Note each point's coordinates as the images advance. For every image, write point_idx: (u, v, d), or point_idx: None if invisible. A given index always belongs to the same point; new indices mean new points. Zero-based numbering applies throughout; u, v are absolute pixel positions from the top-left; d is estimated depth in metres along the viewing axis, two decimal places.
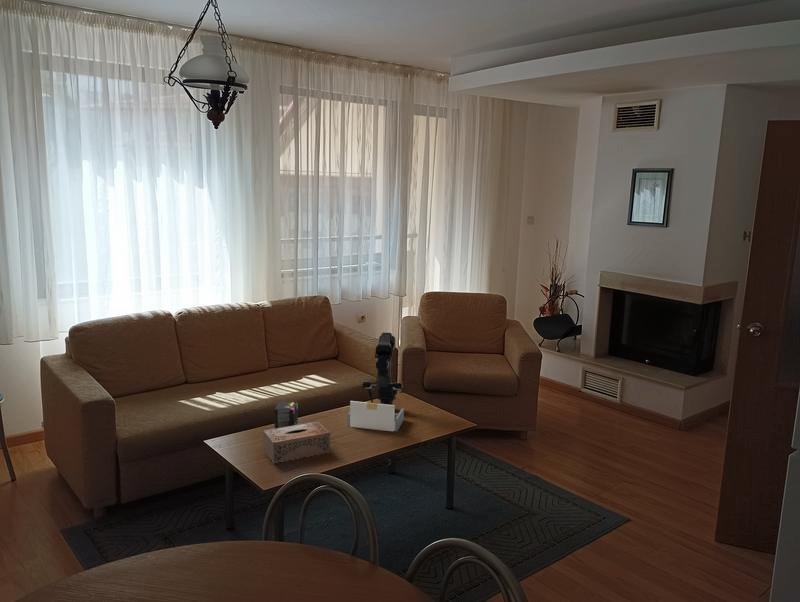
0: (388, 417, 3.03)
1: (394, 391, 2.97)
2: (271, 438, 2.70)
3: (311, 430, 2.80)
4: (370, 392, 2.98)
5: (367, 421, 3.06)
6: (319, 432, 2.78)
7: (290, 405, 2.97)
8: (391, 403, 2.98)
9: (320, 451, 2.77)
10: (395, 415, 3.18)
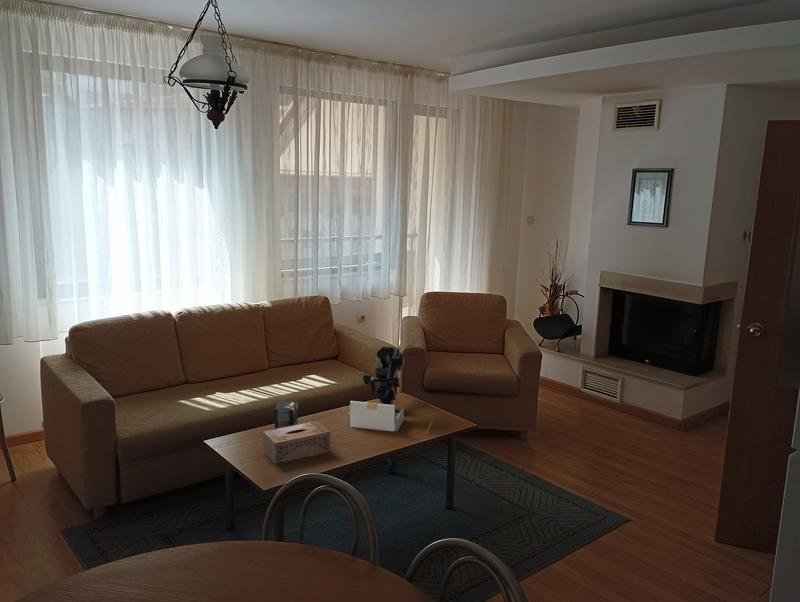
0: (388, 417, 3.03)
1: (388, 383, 3.16)
2: (272, 439, 2.69)
3: (311, 429, 2.80)
4: (372, 384, 3.18)
5: (367, 421, 3.06)
6: (319, 431, 2.78)
7: (290, 405, 2.97)
8: (384, 395, 3.14)
9: (320, 450, 2.78)
10: (395, 415, 3.18)
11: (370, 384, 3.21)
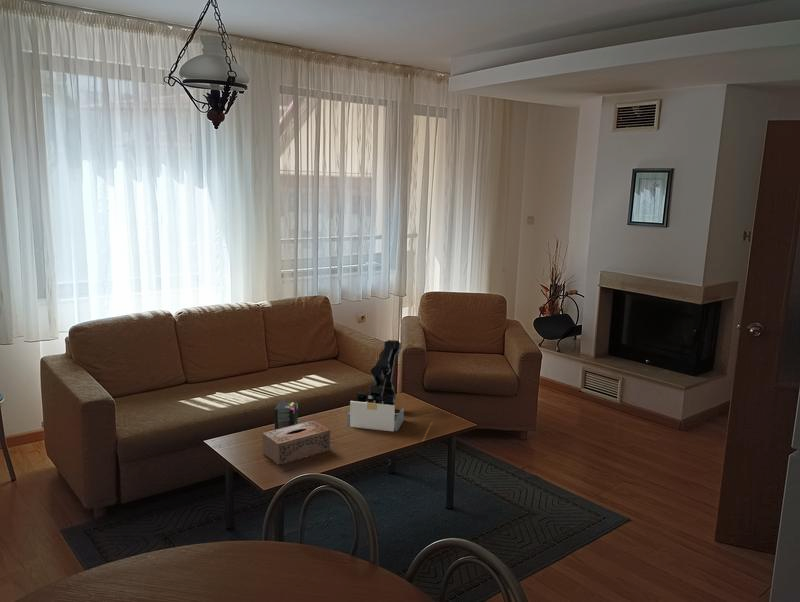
0: (388, 417, 3.03)
1: (376, 401, 3.07)
2: (274, 440, 2.68)
3: (311, 429, 2.81)
4: None
5: (367, 421, 3.06)
6: (319, 430, 2.79)
7: (290, 405, 2.97)
8: None
9: (321, 449, 2.79)
10: (395, 415, 3.18)
11: None
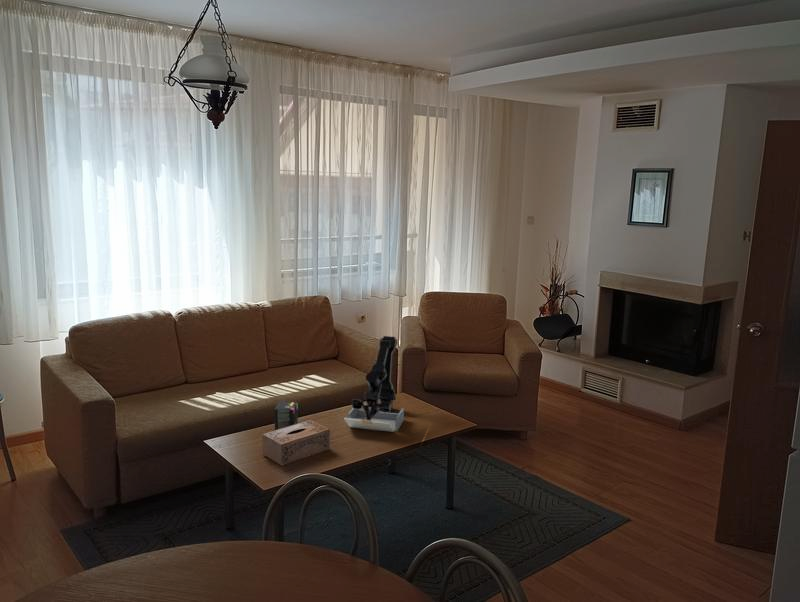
0: (385, 427, 2.99)
1: (372, 408, 2.99)
2: (276, 440, 2.68)
3: (310, 428, 2.82)
4: (367, 410, 2.99)
5: (366, 427, 3.04)
6: (319, 430, 2.80)
7: (290, 405, 2.97)
8: None
9: (321, 448, 2.80)
10: (395, 415, 3.18)
11: (365, 409, 3.03)
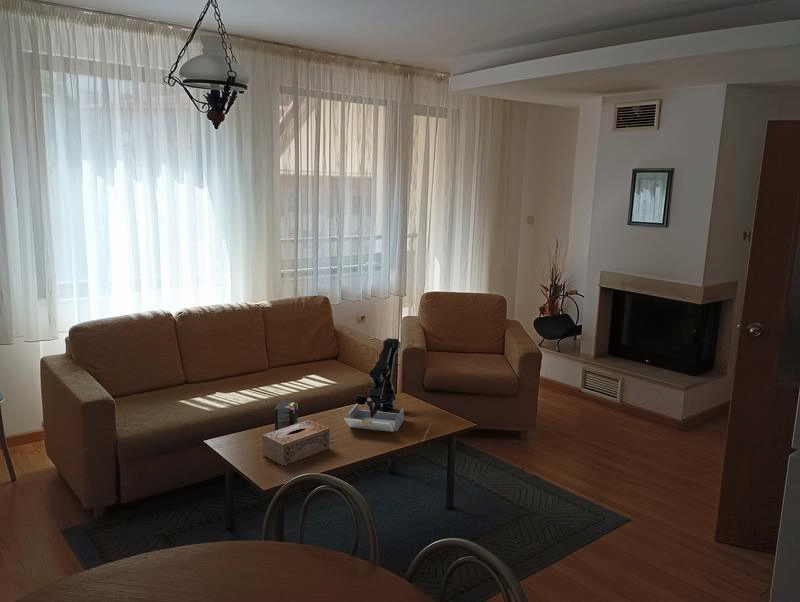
0: (385, 427, 2.99)
1: (376, 404, 3.05)
2: (277, 441, 2.67)
3: (310, 428, 2.82)
4: (370, 406, 3.06)
5: (366, 427, 3.03)
6: (319, 429, 2.81)
7: (290, 405, 2.97)
8: (371, 416, 3.04)
9: (321, 447, 2.81)
10: (395, 415, 3.18)
11: (368, 405, 3.10)
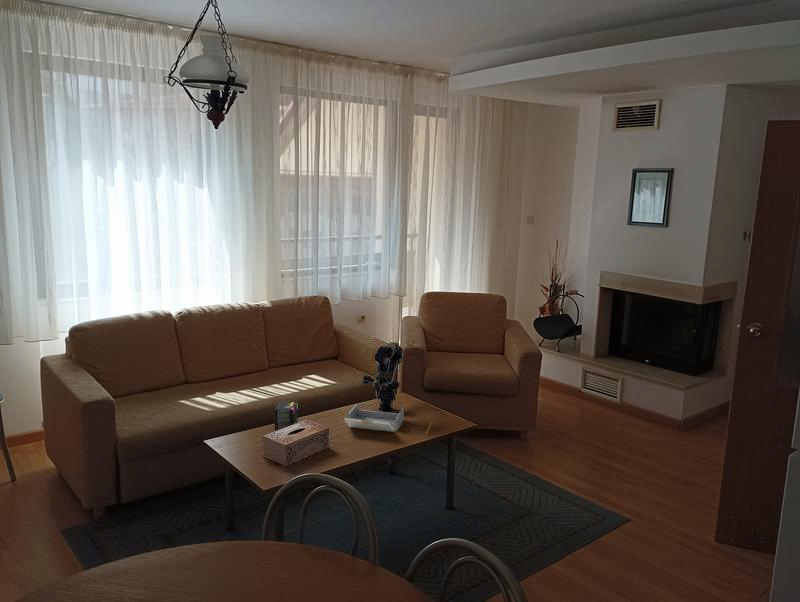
0: (385, 427, 2.99)
1: (383, 386, 3.15)
2: (279, 441, 2.67)
3: (309, 428, 2.82)
4: (377, 387, 3.15)
5: (366, 427, 3.03)
6: (319, 428, 2.82)
7: (290, 405, 2.97)
8: (378, 398, 3.14)
9: (321, 447, 2.82)
10: (395, 415, 3.18)
11: (373, 386, 3.18)
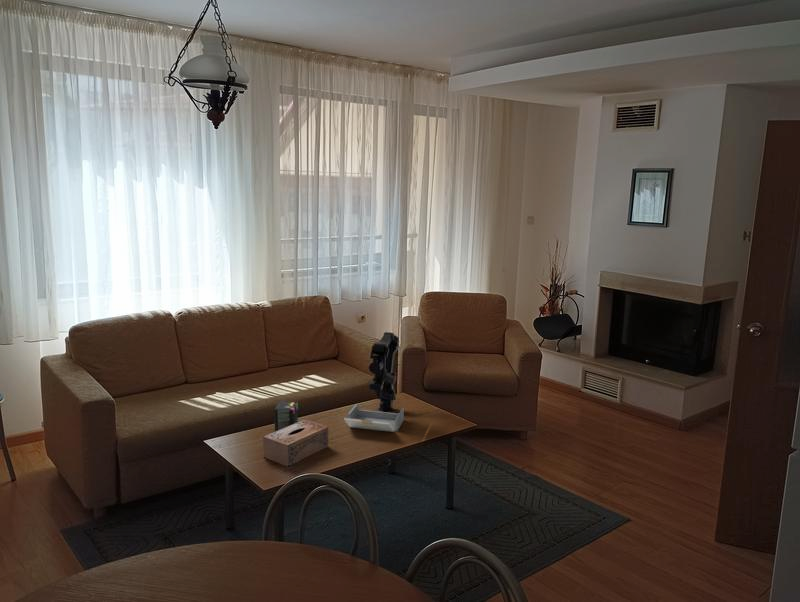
0: (385, 427, 2.99)
1: (384, 386, 3.17)
2: (280, 441, 2.67)
3: (309, 427, 2.83)
4: (381, 389, 3.15)
5: (366, 427, 3.03)
6: (318, 428, 2.82)
7: (290, 405, 2.97)
8: (380, 397, 3.17)
9: (321, 446, 2.82)
10: (395, 415, 3.18)
11: None
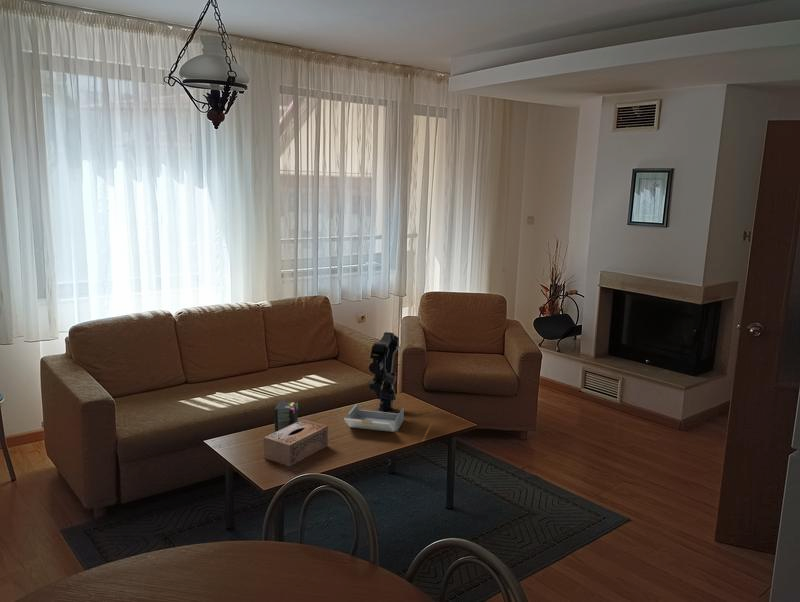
0: (385, 427, 2.99)
1: (384, 386, 3.17)
2: (282, 442, 2.66)
3: (308, 427, 2.83)
4: (381, 389, 3.15)
5: (366, 427, 3.03)
6: (318, 428, 2.83)
7: (290, 405, 2.97)
8: (380, 397, 3.17)
9: (321, 446, 2.83)
10: (395, 415, 3.18)
11: None
